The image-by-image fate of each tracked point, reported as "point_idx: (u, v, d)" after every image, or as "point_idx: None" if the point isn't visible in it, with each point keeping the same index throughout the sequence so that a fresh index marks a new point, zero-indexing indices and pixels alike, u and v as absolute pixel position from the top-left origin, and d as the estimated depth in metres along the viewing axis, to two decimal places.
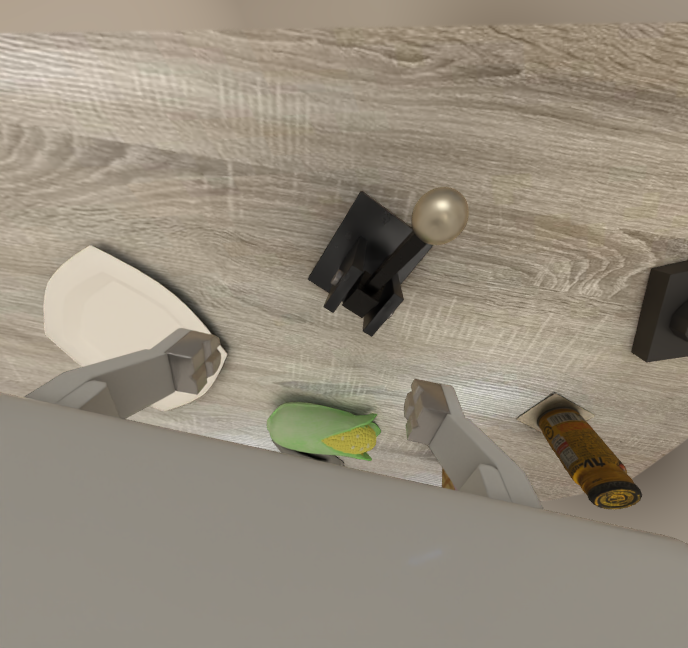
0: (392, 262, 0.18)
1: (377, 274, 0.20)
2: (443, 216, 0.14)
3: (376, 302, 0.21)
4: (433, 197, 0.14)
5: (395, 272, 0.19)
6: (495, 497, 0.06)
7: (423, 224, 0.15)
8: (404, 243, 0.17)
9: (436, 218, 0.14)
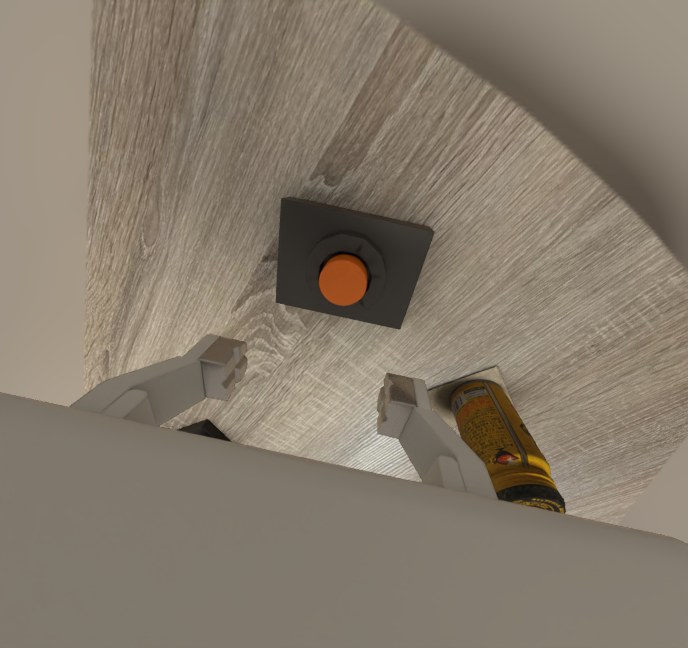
0: None
1: None
2: None
3: None
4: None
5: None
6: (450, 487, 0.06)
7: None
8: None
9: None
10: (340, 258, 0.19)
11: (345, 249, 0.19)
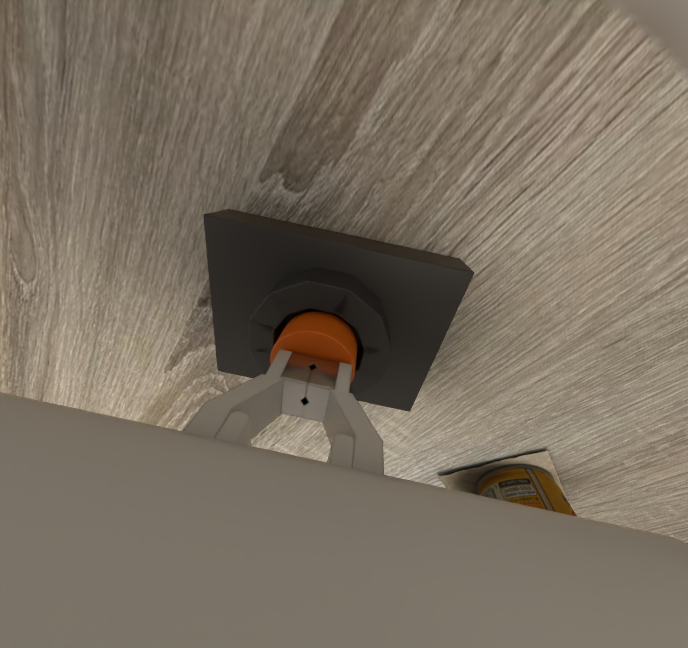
0: None
1: None
2: None
3: None
4: None
5: None
6: (336, 463, 0.06)
7: None
8: None
9: None
10: (306, 325, 0.10)
11: (316, 306, 0.11)
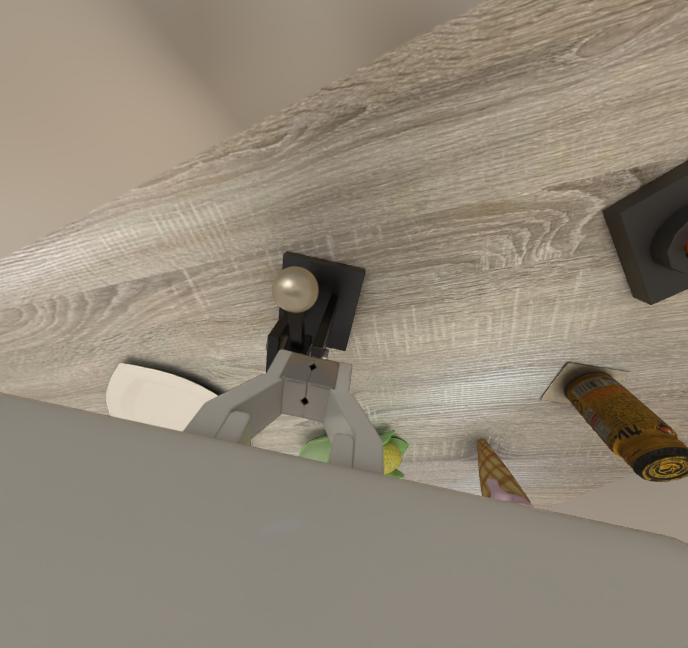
0: (291, 327, 0.21)
1: (290, 336, 0.22)
2: (285, 296, 0.16)
3: None
4: (274, 283, 0.17)
5: (300, 332, 0.21)
6: (336, 463, 0.06)
7: (278, 304, 0.17)
8: None
9: (282, 299, 0.17)
10: None
11: None
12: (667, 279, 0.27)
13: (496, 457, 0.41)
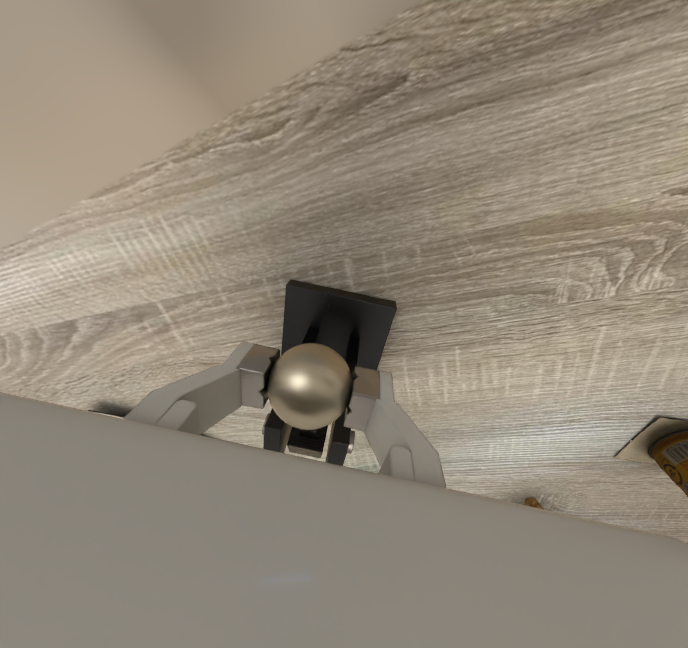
0: None
1: None
2: (293, 413, 0.08)
3: (319, 452, 0.15)
4: (272, 385, 0.09)
5: None
6: (398, 476, 0.06)
7: (281, 418, 0.09)
8: None
9: (287, 416, 0.09)
10: None
11: None
12: None
13: None
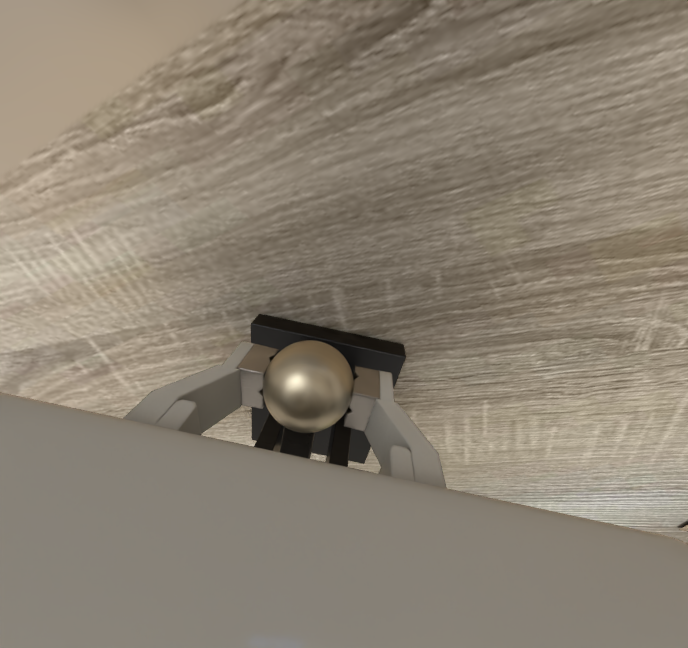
0: None
1: None
2: (298, 378, 0.08)
3: None
4: (276, 360, 0.08)
5: None
6: (398, 476, 0.06)
7: (276, 404, 0.08)
8: None
9: (289, 385, 0.08)
10: None
11: None
12: None
13: None
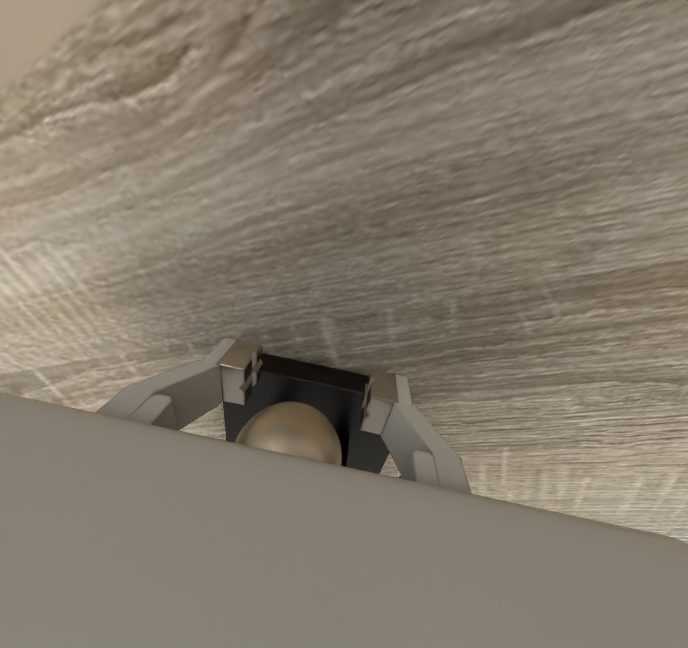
0: None
1: None
2: None
3: None
4: (247, 428, 0.07)
5: None
6: (423, 481, 0.06)
7: None
8: None
9: None
10: None
11: None
12: None
13: None
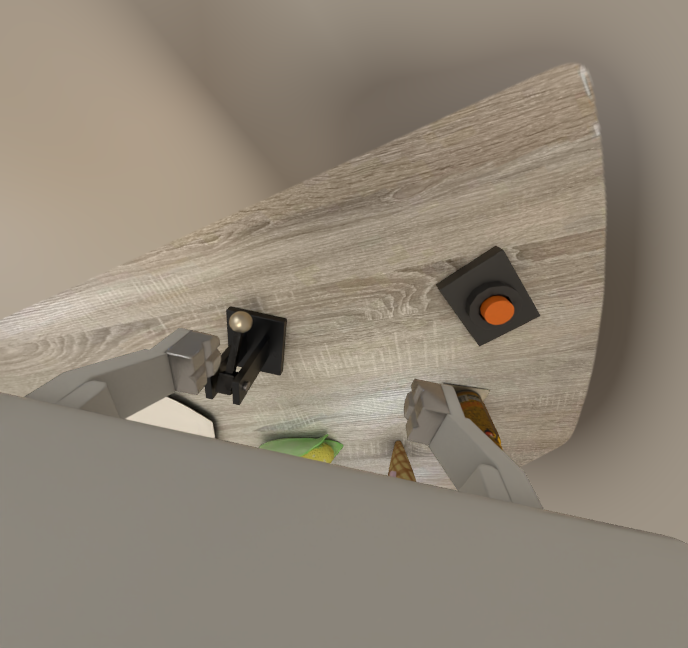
0: (231, 349, 0.37)
1: (228, 360, 0.37)
2: (236, 316, 0.36)
3: (232, 376, 0.36)
4: None
5: (235, 354, 0.37)
6: (495, 497, 0.06)
7: (231, 322, 0.36)
8: (233, 338, 0.37)
9: (234, 318, 0.36)
10: None
11: (510, 297, 0.34)
12: (484, 330, 0.38)
13: (403, 455, 0.52)
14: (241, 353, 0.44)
